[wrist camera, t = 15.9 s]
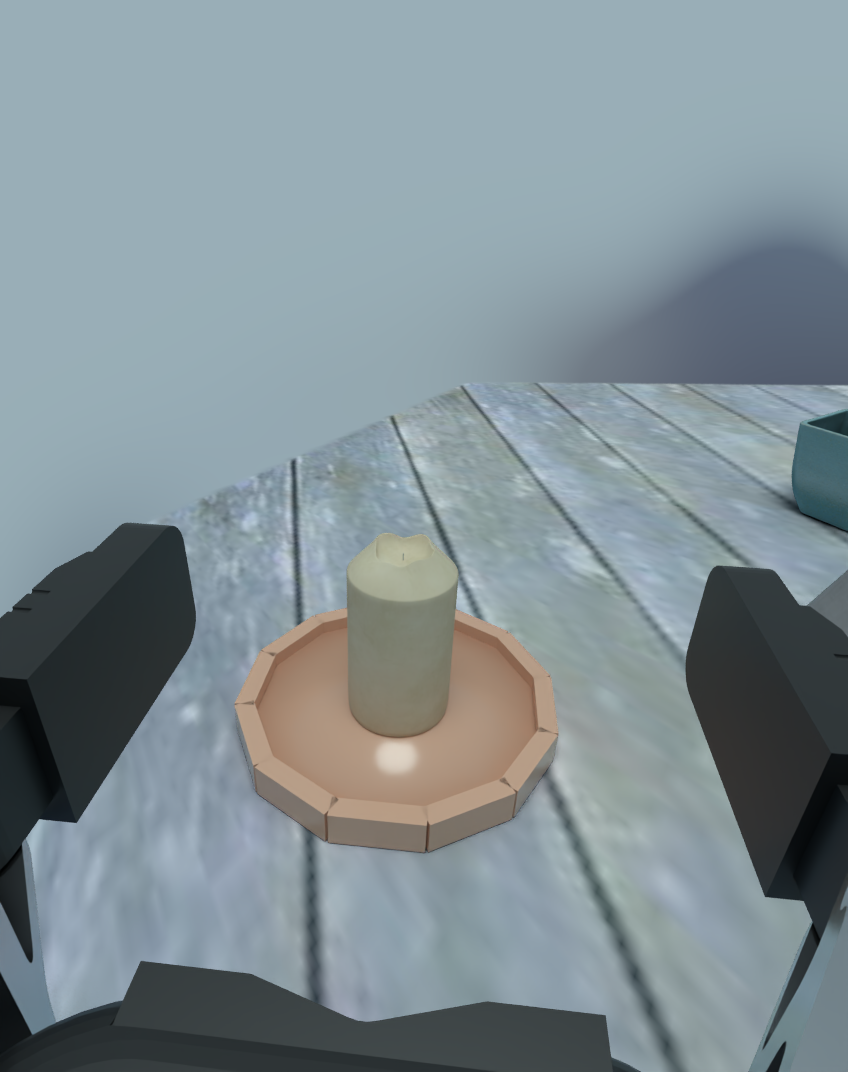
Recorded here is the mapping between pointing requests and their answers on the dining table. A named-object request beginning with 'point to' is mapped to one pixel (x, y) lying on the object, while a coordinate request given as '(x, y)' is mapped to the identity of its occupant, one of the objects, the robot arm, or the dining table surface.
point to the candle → (400, 634)
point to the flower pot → (823, 468)
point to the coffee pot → (834, 603)
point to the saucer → (396, 740)
